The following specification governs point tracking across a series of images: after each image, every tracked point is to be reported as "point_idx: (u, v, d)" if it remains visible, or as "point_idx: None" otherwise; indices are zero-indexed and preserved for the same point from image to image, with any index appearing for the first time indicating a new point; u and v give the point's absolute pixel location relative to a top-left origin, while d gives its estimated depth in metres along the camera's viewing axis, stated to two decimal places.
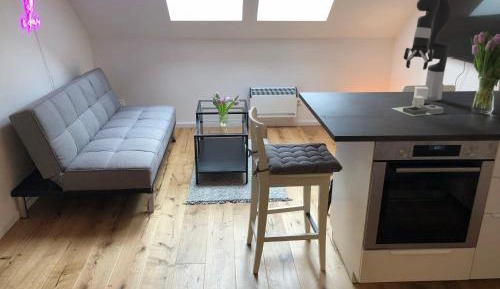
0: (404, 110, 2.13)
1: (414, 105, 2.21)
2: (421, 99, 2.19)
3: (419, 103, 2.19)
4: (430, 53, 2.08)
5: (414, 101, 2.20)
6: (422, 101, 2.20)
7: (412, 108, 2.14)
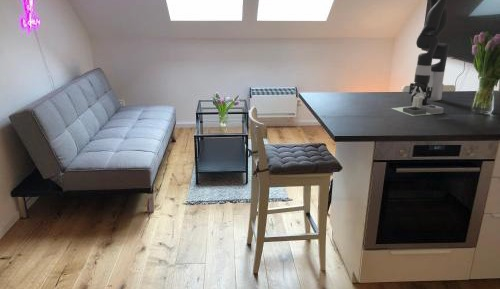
0: (404, 110, 2.13)
1: (414, 105, 2.21)
2: (421, 99, 2.19)
3: (419, 103, 2.19)
4: (427, 90, 2.13)
5: (414, 101, 2.20)
6: None
7: (412, 108, 2.14)
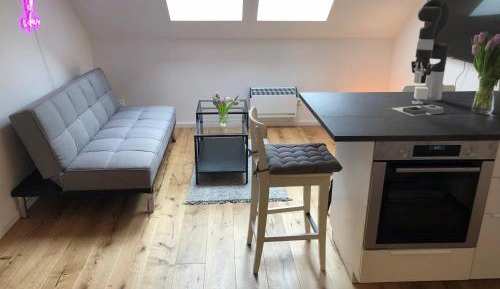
0: (404, 110, 2.13)
1: (416, 80, 2.08)
2: None
3: None
4: (428, 67, 2.02)
5: (416, 76, 2.08)
6: None
7: (412, 108, 2.14)
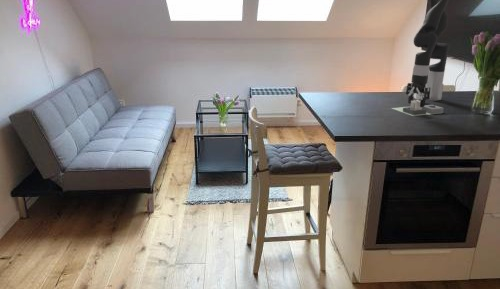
0: (404, 110, 2.13)
1: None
2: (419, 103, 2.09)
3: (417, 108, 2.09)
4: (425, 91, 2.02)
5: (412, 105, 2.10)
6: None
7: None
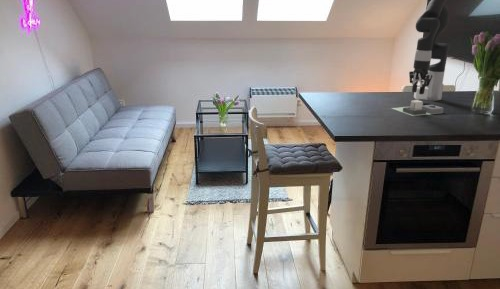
0: (404, 110, 2.13)
1: None
2: (419, 103, 2.09)
3: (417, 108, 2.09)
4: (426, 79, 2.01)
5: (412, 105, 2.10)
6: (420, 105, 2.10)
7: None
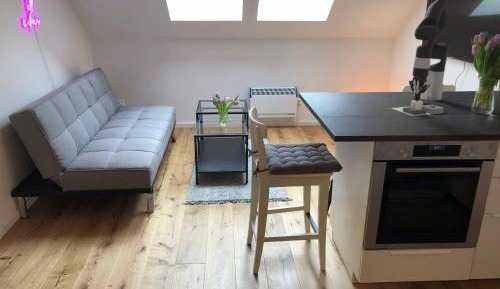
0: (404, 110, 2.13)
1: None
2: (419, 103, 2.09)
3: (417, 108, 2.09)
4: (423, 87, 2.03)
5: (412, 105, 2.10)
6: (420, 105, 2.10)
7: None
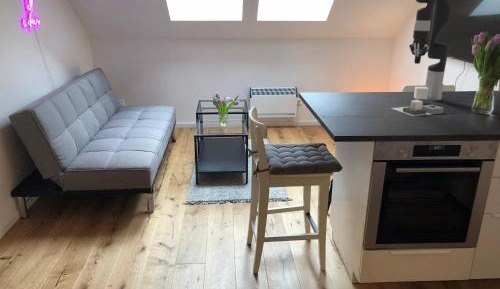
0: (404, 110, 2.13)
1: None
2: (419, 103, 2.09)
3: (417, 108, 2.09)
4: (423, 49, 2.08)
5: (412, 105, 2.10)
6: (420, 105, 2.10)
7: None
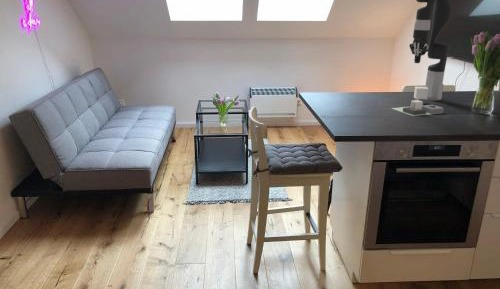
0: (404, 110, 2.13)
1: None
2: (419, 103, 2.09)
3: (417, 108, 2.09)
4: (423, 49, 2.08)
5: (412, 105, 2.10)
6: (420, 105, 2.10)
7: None
